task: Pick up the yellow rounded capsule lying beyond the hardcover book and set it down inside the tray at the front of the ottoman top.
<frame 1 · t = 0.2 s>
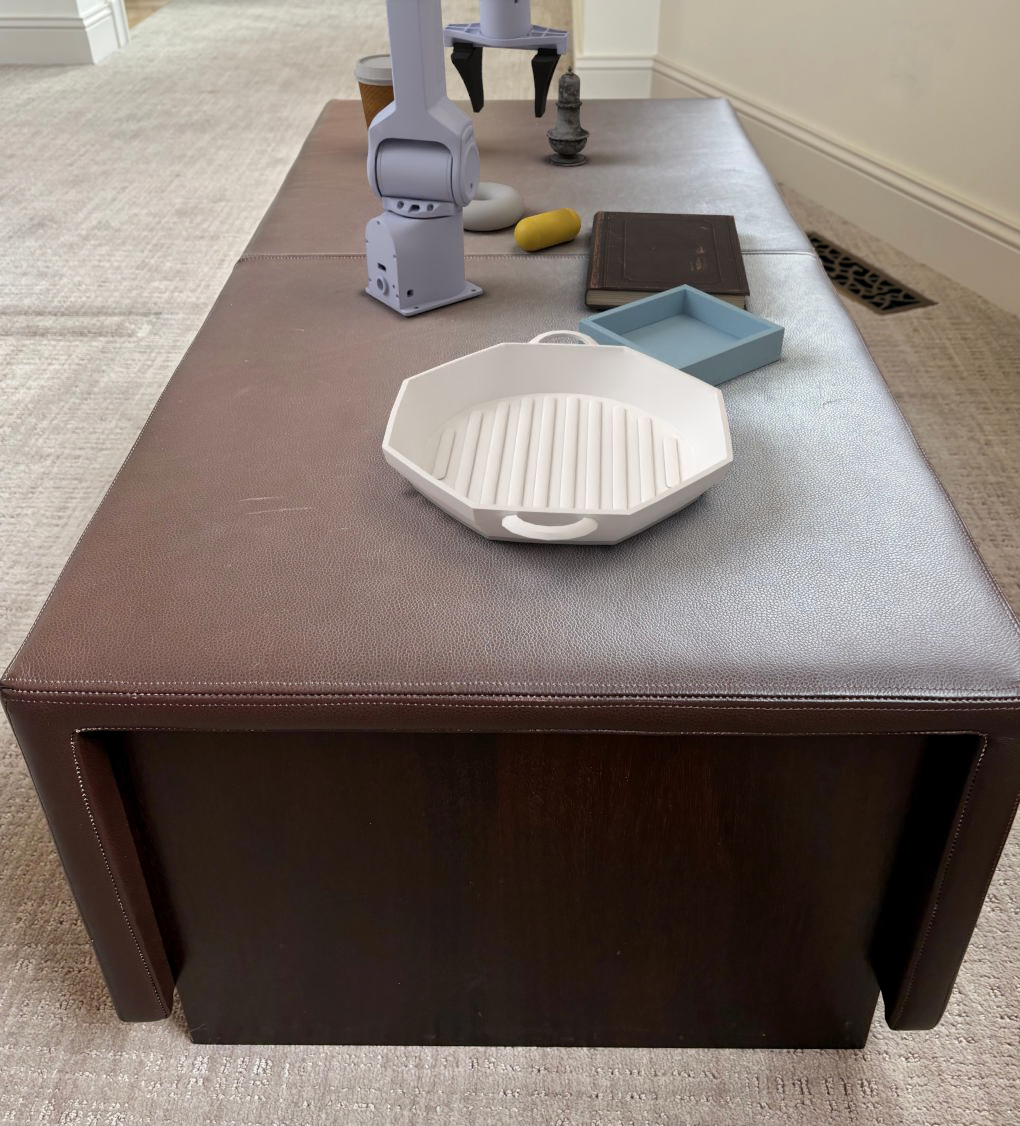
hand: (509, 111, 127), 10 cm above the table, tool pointing down, fingers open, 7 cm apart
yellow rounded capsule: (547, 245, 120), on the table
disposable coffee cup: (395, 155, 148), on the table
tray: (678, 355, 98), on the table
pan: (556, 467, 83), on the table
donut: (483, 221, 127), on the table
salt shaker: (567, 161, 146), on the table
hardcover book: (663, 271, 115), on the table, touching tray
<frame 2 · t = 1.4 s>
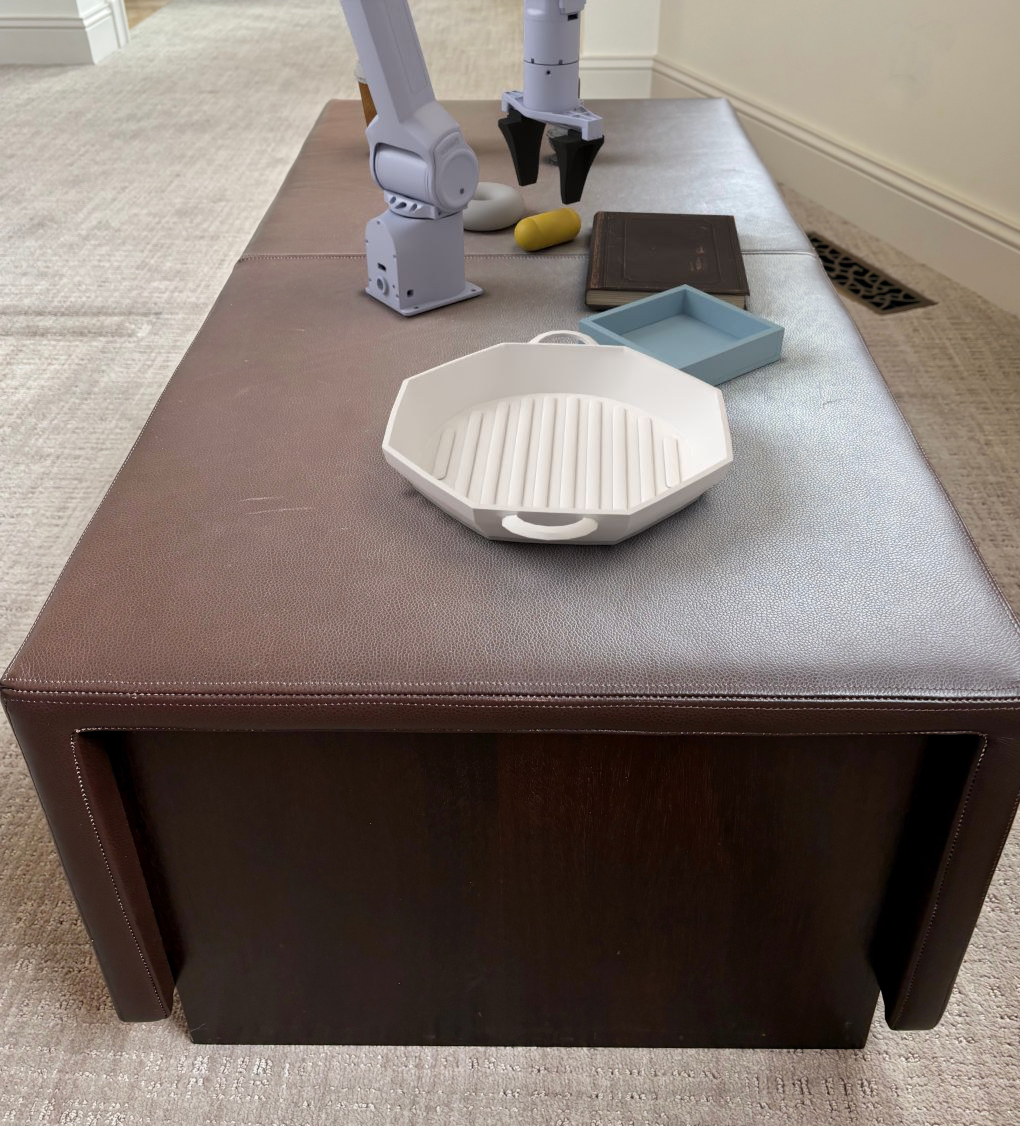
hand: (549, 193, 117), 6 cm above the table, tool pointing down, fingers open, 7 cm apart
nothing on the table moved.
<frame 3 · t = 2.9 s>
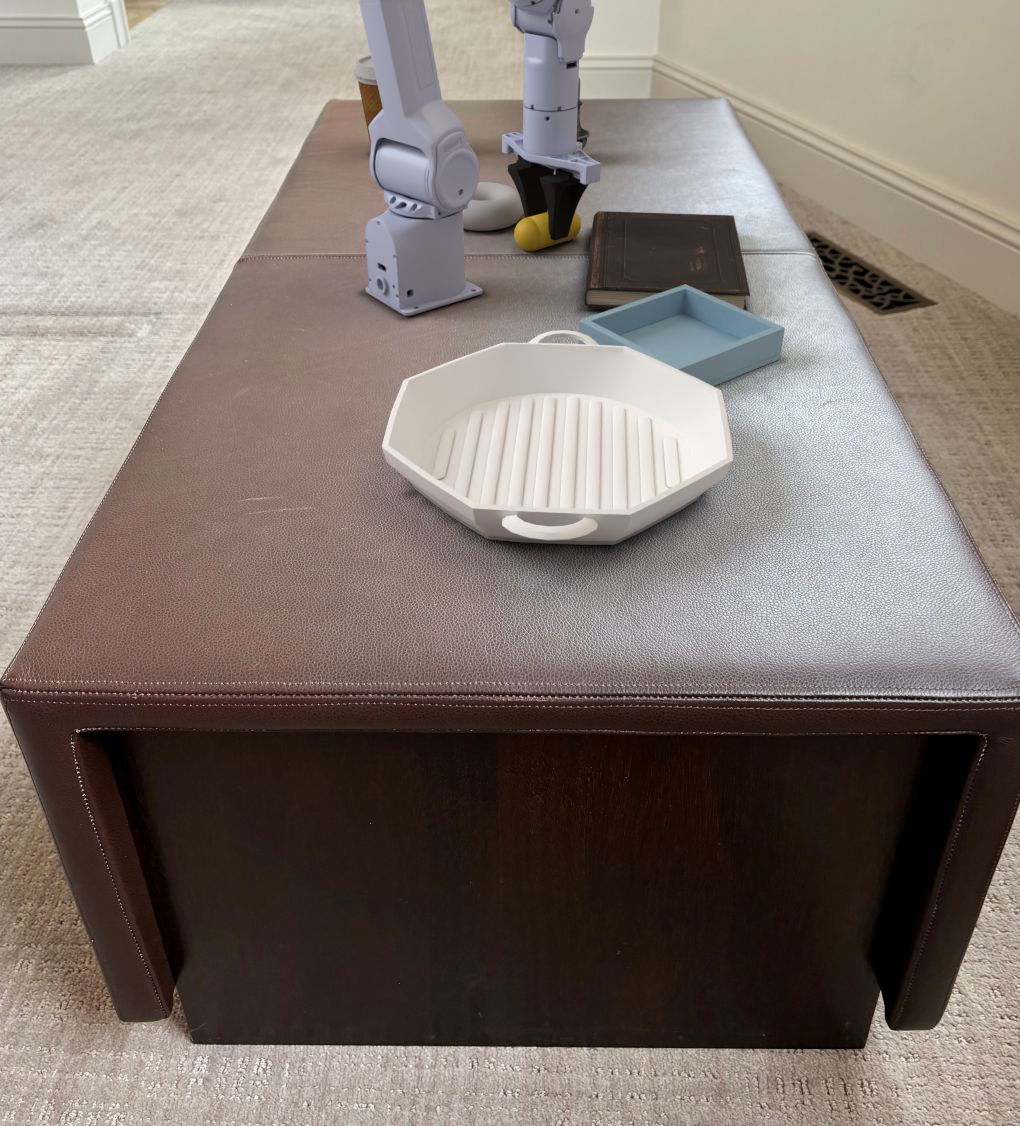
hand: (548, 232, 120), 1 cm above the table, tool pointing down, fingers closed on yellow rounded capsule, 3 cm apart
yellow rounded capsule: (547, 244, 120), on the table, touching gripper
everything else where it was.
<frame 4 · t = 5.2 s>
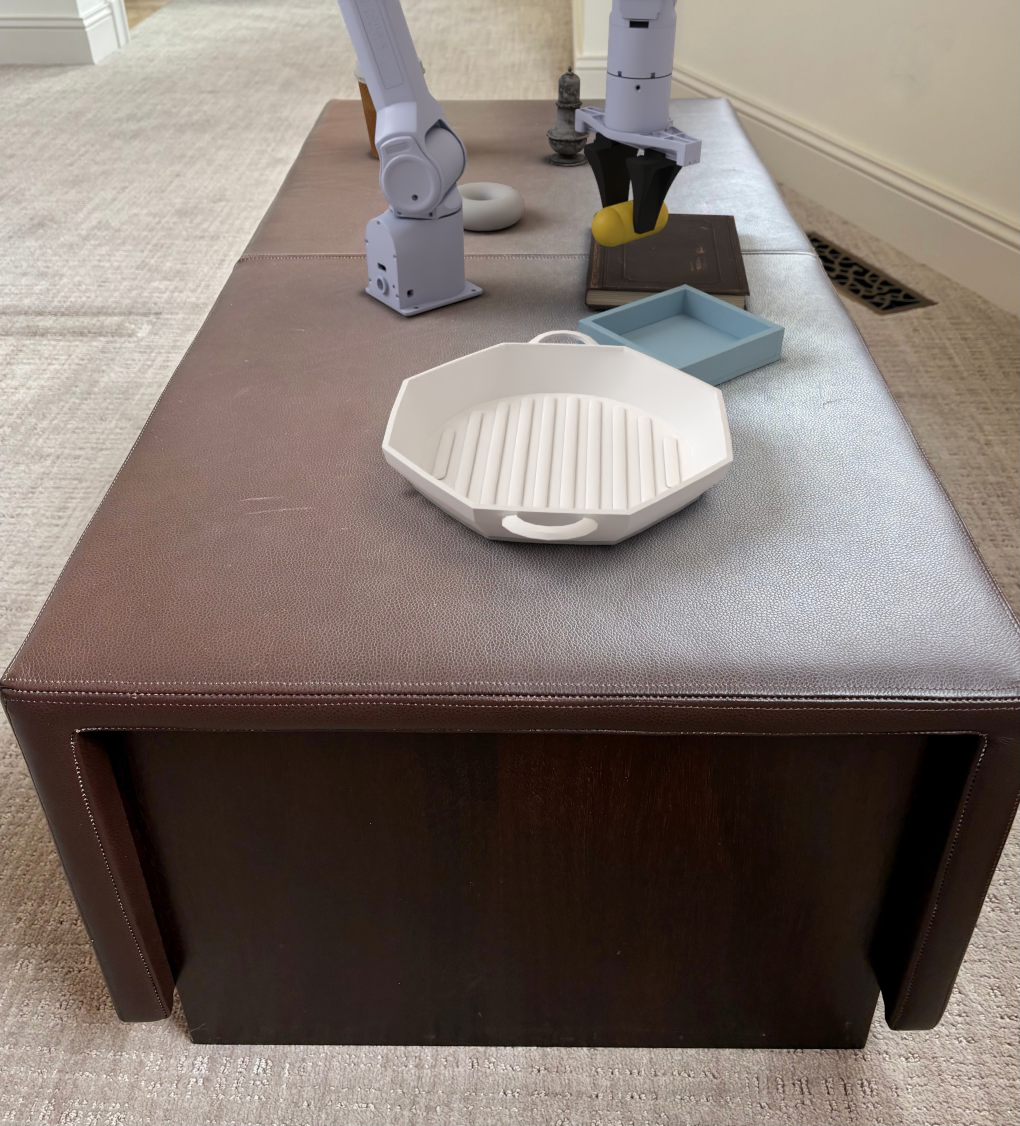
hand: (629, 225, 101), 8 cm above the table, tool pointing down, fingers closed on yellow rounded capsule, 3 cm apart
yellow rounded capsule: (629, 239, 102), point 7 cm above the table, touching gripper
everything else where it was.
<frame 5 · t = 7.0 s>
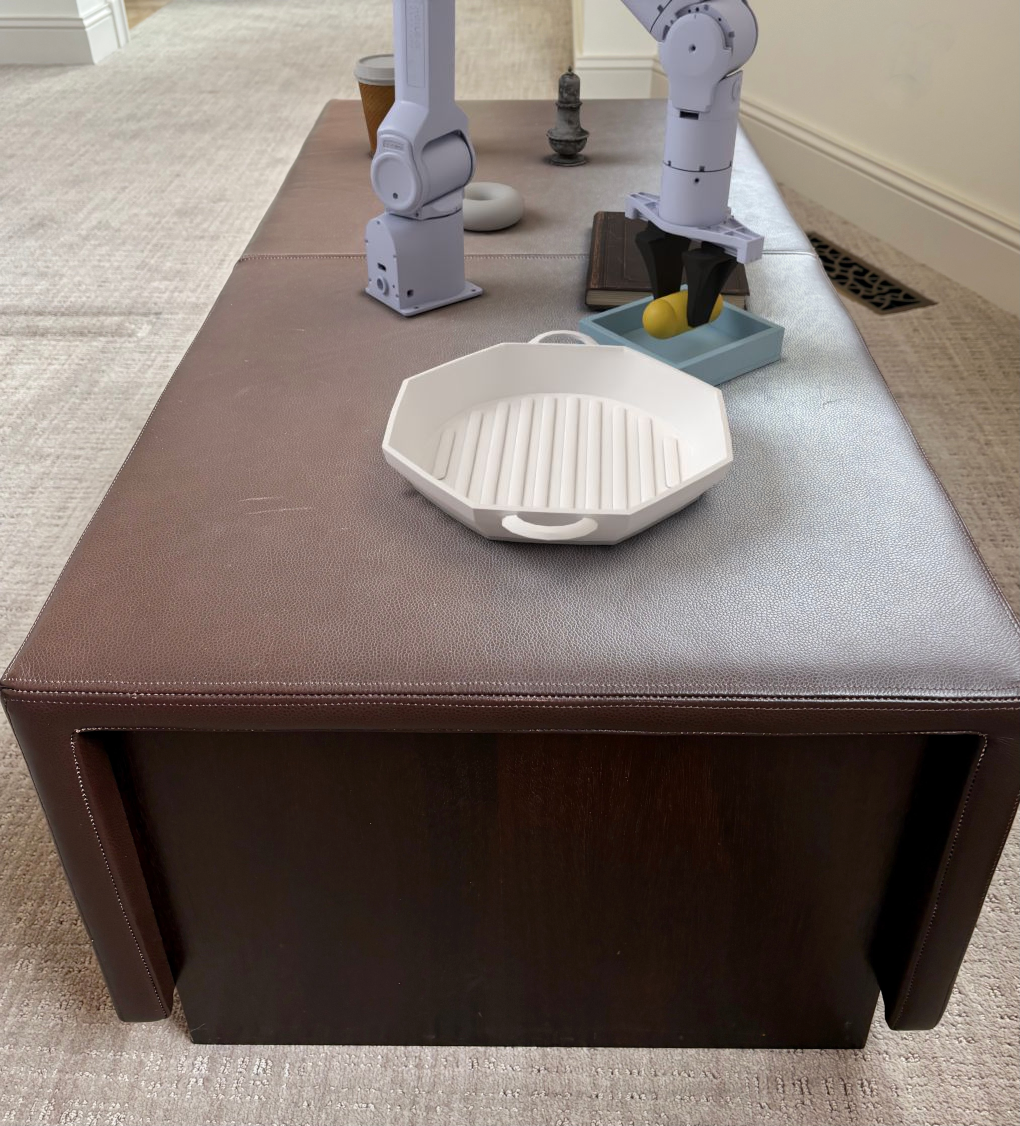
hand: (682, 316, 96), 4 cm above the table, tool pointing down, fingers closed on yellow rounded capsule, 3 cm apart
yellow rounded capsule: (681, 330, 97), point 2 cm above the table, touching gripper
everything else where it was.
when the fingers open (2 cm above the table, at t = 8.0 s): yellow rounded capsule stays where it is, resting on tray.
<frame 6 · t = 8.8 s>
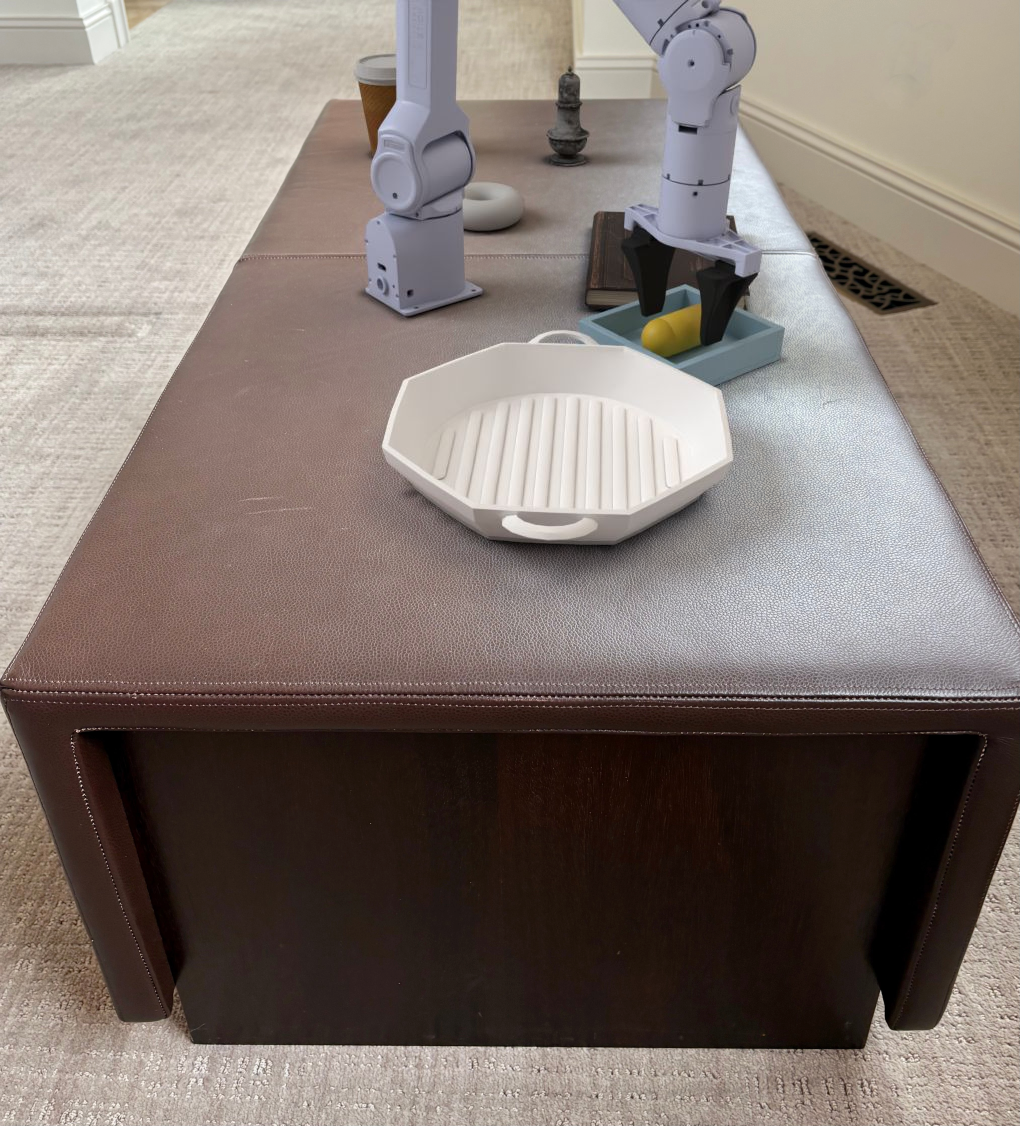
hand: (680, 327, 97), 3 cm above the table, tool pointing down, fingers open, 7 cm apart
yellow rounded capsule: (679, 348, 98), point 1 cm above the table, touching tray
everything else where it was.
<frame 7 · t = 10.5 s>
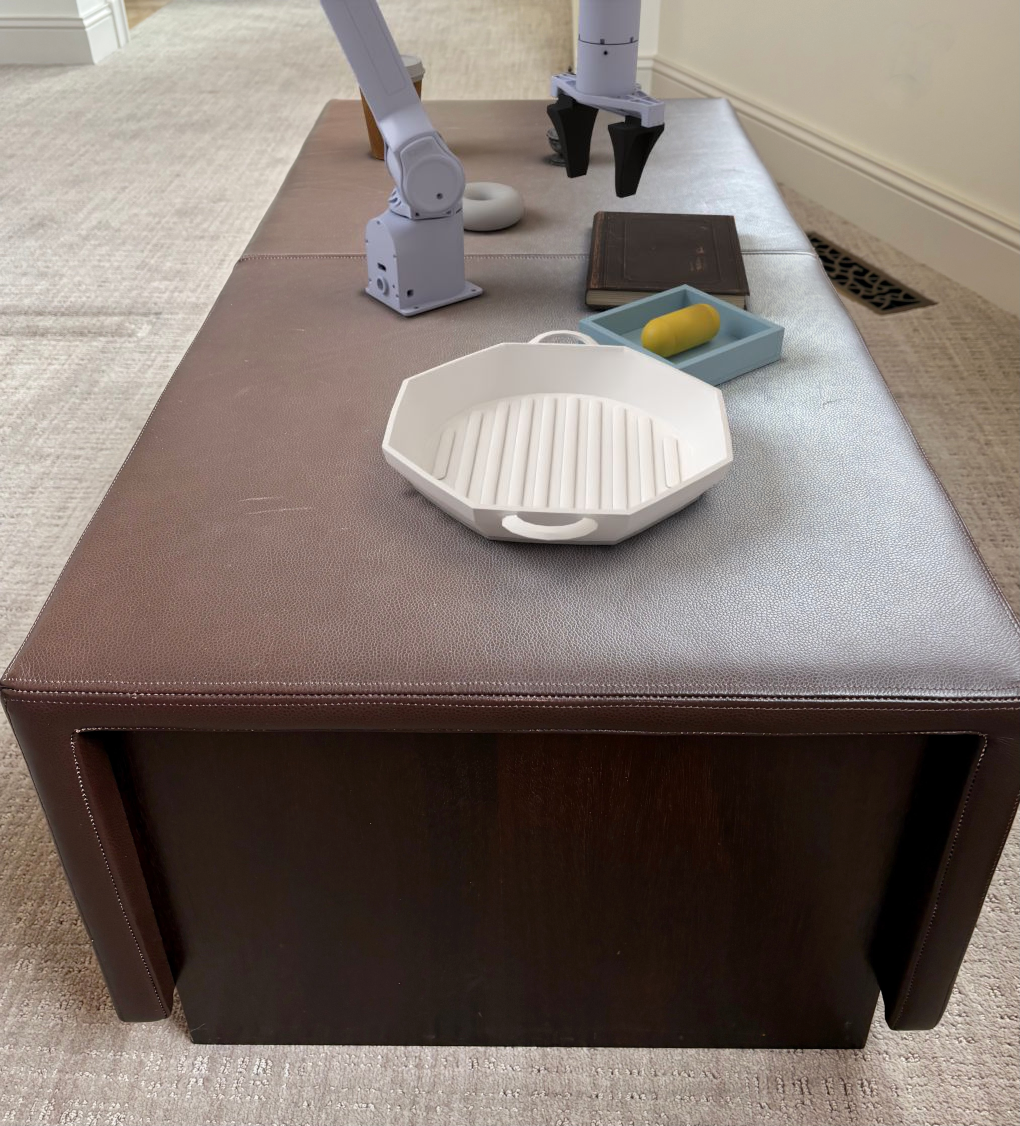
hand: (600, 185, 108), 9 cm above the table, tool pointing down, fingers open, 7 cm apart
nothing on the table moved.
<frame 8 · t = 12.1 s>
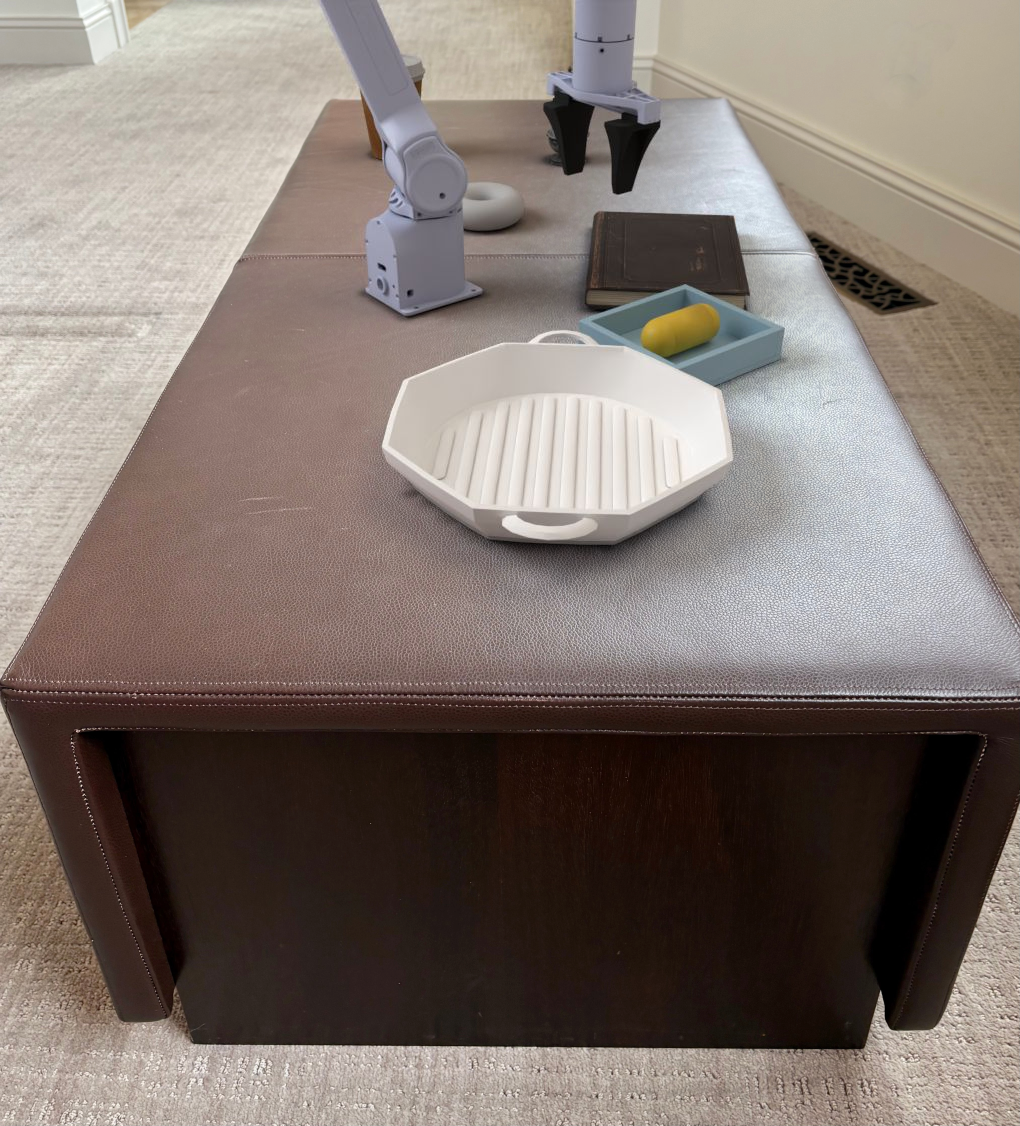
hand: (597, 182, 109), 9 cm above the table, tool pointing down, fingers open, 7 cm apart
nothing on the table moved.
at the end: yellow rounded capsule inside the target area in the tray (0.1 cm from its centre), point 0.6 cm above the tray's base; the gripper is holding nothing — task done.
